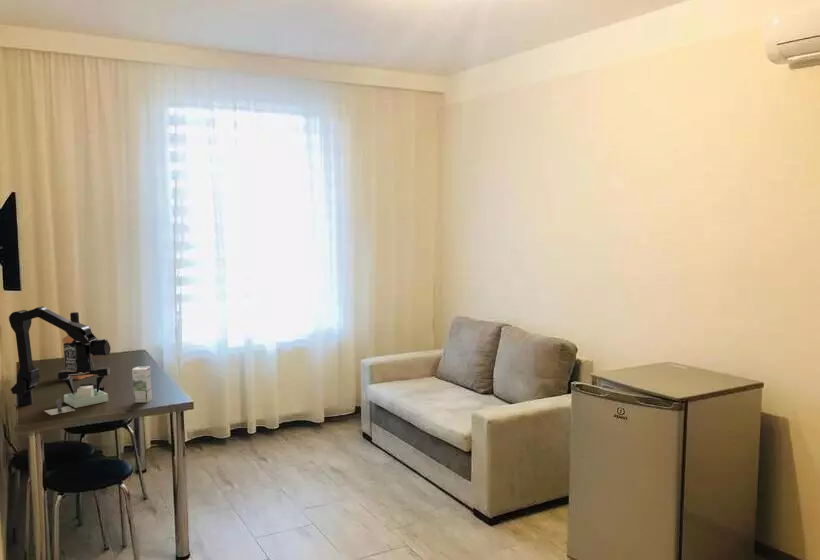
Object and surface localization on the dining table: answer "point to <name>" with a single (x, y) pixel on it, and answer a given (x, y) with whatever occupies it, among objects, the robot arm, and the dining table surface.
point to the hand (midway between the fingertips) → (85, 393)
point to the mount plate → (64, 409)
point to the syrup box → (142, 384)
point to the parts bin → (85, 399)
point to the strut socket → (85, 392)
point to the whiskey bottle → (71, 350)
